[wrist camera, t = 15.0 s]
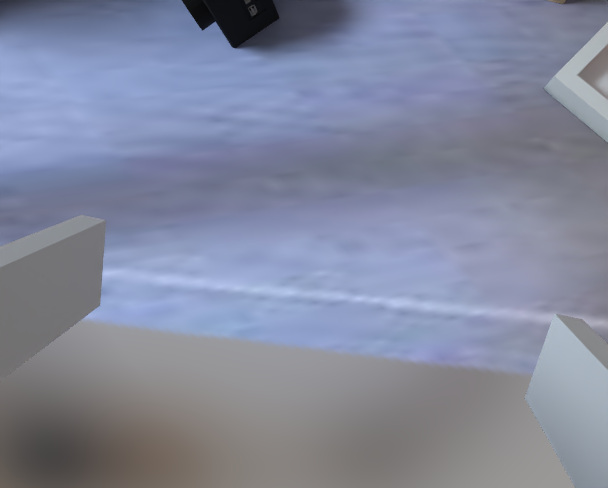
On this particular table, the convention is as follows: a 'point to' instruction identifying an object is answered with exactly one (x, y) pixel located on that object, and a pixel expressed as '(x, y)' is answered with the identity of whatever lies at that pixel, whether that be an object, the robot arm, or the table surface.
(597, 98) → the tray
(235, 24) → the digital camera
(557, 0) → the pulley stand
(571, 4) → the table surface
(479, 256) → the table surface
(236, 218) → the table surface
